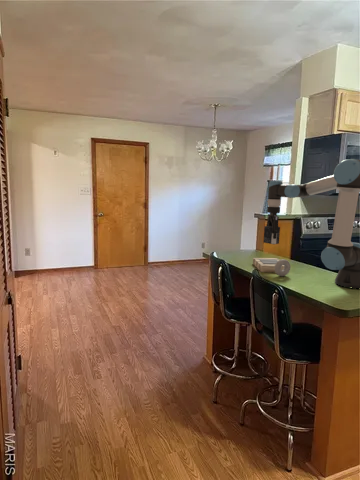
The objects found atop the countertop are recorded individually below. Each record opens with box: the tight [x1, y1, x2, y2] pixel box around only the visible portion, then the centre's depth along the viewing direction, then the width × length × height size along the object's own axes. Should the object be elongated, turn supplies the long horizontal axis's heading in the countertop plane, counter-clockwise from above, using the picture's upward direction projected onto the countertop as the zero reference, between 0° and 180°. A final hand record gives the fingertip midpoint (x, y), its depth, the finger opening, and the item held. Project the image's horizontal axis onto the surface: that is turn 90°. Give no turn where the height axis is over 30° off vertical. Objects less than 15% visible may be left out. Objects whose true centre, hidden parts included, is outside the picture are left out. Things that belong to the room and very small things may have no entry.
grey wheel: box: [274, 258, 291, 277], centre depth 187 cm, size 10×3×10 cm, turn 109°
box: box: [263, 225, 281, 245], centre depth 202 cm, size 8×6×11 cm
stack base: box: [252, 257, 284, 273], centre depth 205 cm, size 20×16×4 cm
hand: (271, 242), depth 203 cm, fingers closed on box, 9 cm apart
